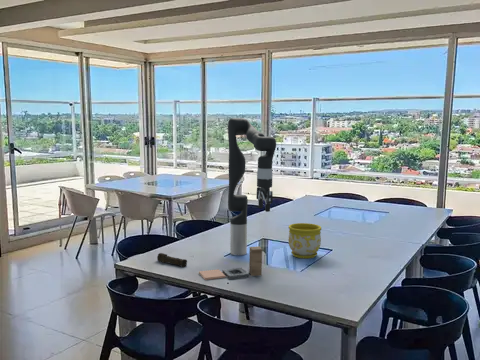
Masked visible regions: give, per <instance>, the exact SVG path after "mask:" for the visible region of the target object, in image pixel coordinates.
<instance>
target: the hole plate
mask: <svg viewBox="0 0 480 360" xmlns="http://www.w3.org/2000/svg"><path fill="white" fill-rule="evenodd" d="M221 272H222V273H223V274H224V275H225V278H227V279H228V280H234V279H235V280H237V279H244V278H249V277H250V273H249V272H247V271H246V270H245V269H244V268H242V267H237V268H228V269H226V268H225V269H222V271H221Z"/></svg>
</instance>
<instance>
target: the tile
mask: <svg viewBox="0 0 480 360" xmlns="http://www.w3.org/2000/svg"><path fill="white" fill-rule="evenodd" d="M198 274H199V276H200V277H202V278H203V279H204V281H208V280H218V279H225V278H226V276H225V275H224V274H223V273H222V271H221V270H220V269H219V268H218V269H208V270H201V271H198Z"/></svg>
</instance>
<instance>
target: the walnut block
mask: <svg viewBox="0 0 480 360" xmlns="http://www.w3.org/2000/svg"><path fill="white" fill-rule="evenodd" d="M248 255H249V257H248V260H249V261H248V262H249V263H248V264H249V267H248V268H249V270H248V273H249V276H251V277H256V276H262V273H263V272H262V269H263V265H262V264H263V249H262V248H261V246H260V245H259V246H256V245H255V246H249V254H248Z"/></svg>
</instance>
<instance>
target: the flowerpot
mask: <svg viewBox="0 0 480 360" xmlns="http://www.w3.org/2000/svg"><path fill="white" fill-rule="evenodd" d="M288 229H289V230H288V232H289V233H288V239H287V240H288V246H289V249H290V251H291V254H292V256H293V257H295V258H299V259H314V258H315V257H316V256H317V255H318V252H319V250H320V247H321V245H322V237H321V236H322V235H321V234H322V232H321V230H322V226H321V225H318V224H315V223H309V222H308V223H307V222H305V223H304V222H299V223H298V222H297V223H292V224H289V225H288Z"/></svg>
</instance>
